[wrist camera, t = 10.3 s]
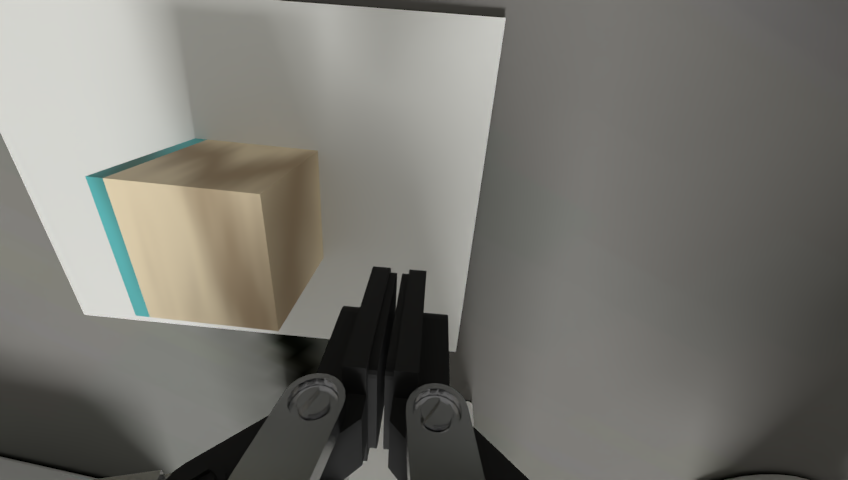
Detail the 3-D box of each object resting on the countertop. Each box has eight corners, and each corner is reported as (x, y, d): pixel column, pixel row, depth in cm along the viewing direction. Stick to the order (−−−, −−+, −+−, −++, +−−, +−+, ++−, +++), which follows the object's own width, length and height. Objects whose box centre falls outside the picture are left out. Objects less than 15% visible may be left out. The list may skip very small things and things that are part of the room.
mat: (504, 18, 15) (506, 17, 15) (455, 348, 23) (455, 351, 23) (-64, -26, 15) (-74, -27, 15) (88, 311, 24) (84, 314, 23)
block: (260, 194, 12) (85, 176, 12) (278, 331, 15) (135, 315, 15) (317, 150, 18) (195, 138, 18) (323, 257, 20) (217, 246, 20)
